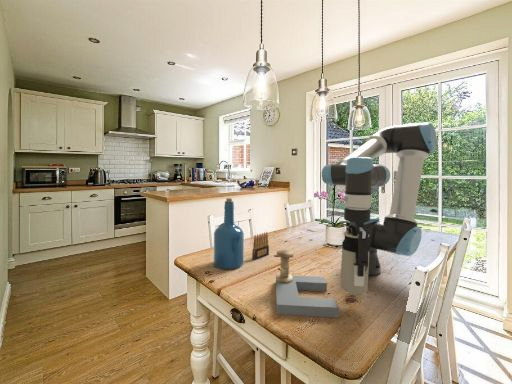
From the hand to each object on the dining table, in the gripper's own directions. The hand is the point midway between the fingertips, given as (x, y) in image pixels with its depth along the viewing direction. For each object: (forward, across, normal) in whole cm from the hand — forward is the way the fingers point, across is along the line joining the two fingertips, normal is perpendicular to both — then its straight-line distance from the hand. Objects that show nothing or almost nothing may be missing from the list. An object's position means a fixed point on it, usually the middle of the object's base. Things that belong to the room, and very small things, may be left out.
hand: (354, 279), depth 81 cm
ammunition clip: (+9, -43, -31) cm, 54 cm away
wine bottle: (+9, -31, -45) cm, 55 cm away
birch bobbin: (+6, -11, -21) cm, 25 cm away
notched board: (+9, -4, -15) cm, 18 cm away
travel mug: (+4, 0, 0) cm, 4 cm away
